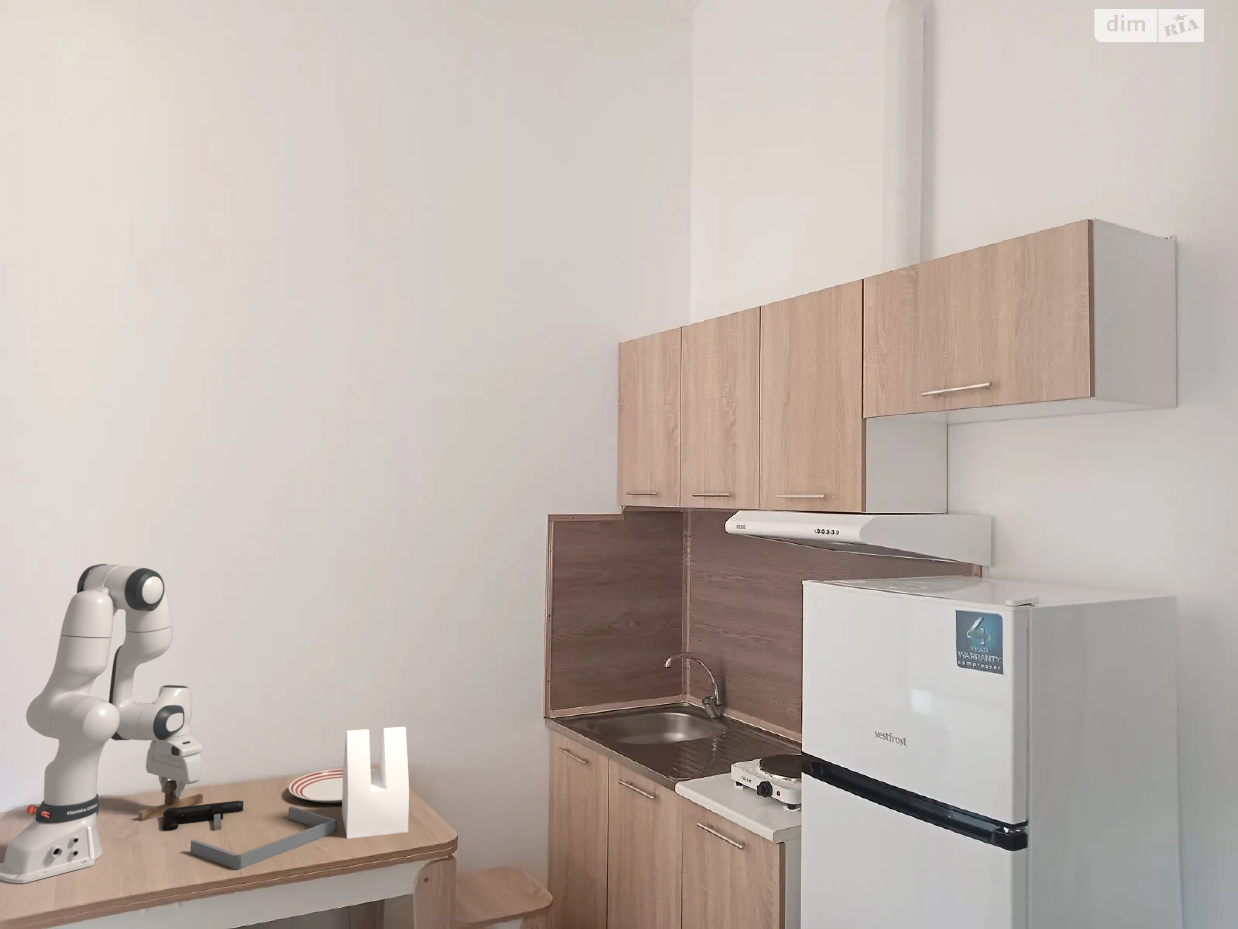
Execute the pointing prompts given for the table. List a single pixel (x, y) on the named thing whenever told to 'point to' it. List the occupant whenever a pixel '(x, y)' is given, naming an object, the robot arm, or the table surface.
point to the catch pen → (235, 861)
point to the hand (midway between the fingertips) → (172, 794)
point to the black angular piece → (199, 814)
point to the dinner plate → (319, 786)
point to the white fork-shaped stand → (375, 785)
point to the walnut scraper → (170, 802)
